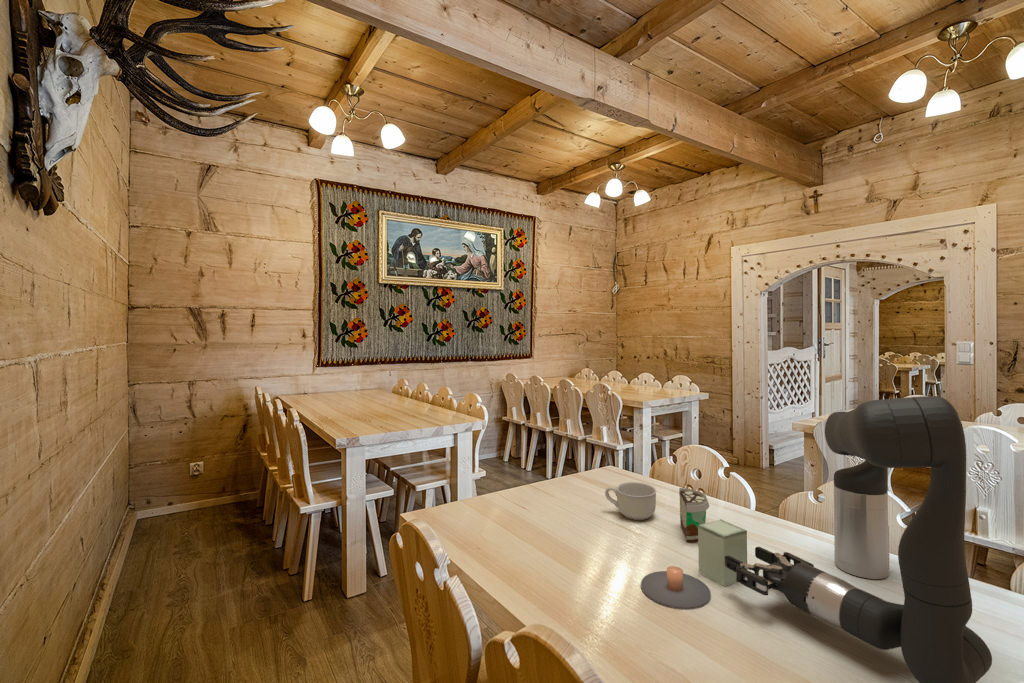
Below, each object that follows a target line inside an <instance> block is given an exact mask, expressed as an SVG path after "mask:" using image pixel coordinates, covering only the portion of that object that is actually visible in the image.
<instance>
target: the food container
mask: <svg viewBox="0 0 1024 683" xmlns="http://www.w3.org/2000/svg"><path fill="white" fill-rule="evenodd" d="M678 491H679V492H678V494H679V519H680V522H679V523H680V530H681V532H682V535H683V537H684V540H685V543H689V544H690V543H691V544H692V543H698V525H700V524H704V523H706V521H707V510H708V509H709V508H710V504H709V499H708V498H707V495H706V494H704V493H703V492H701V491H698V490H695V489H691V488H682V487H679V490H678Z"/></svg>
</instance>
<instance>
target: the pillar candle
mask: <svg viewBox="0 0 1024 683" xmlns="http://www.w3.org/2000/svg"><path fill="white" fill-rule="evenodd" d="M666 571H667V588H668V589H669V590H671V591H675V592H680V591H682V590H683V573H684V572H683V571H684V570H683V569H682V568H680V567H678V566H674V565H671V566H668V567H667V568H666Z"/></svg>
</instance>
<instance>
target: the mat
mask: <svg viewBox="0 0 1024 683" xmlns="http://www.w3.org/2000/svg"><path fill="white" fill-rule="evenodd" d="M640 588H641V591H642V592H643V594H644V595H645V596H646V597H647V598H648V599H650V600H651V601H653V602H655V603H657V604H659V605H660V606H661V605H662V606H665V607H667V608H673V609H679V610H694V609H699V608H702V607H704V606H706V605H707V604H708V603H709V602H710V600H711V596H712V595H711V590H710V588H709V586H708V585H707V584H706V583H704V582H703V581H702V580H700V579H698V578H696V577H695V576H693V575H691V574H690V575H689V574H688V573H684V572H683V590H682V591H680V592H675V591H671V590H669V589H668V588H667V570H662V571H660V570H659V571H654V572H650V573H647V575H645V576H643V577H642V579H641V582H640Z"/></svg>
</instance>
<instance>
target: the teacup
mask: <svg viewBox="0 0 1024 683" xmlns="http://www.w3.org/2000/svg"><path fill="white" fill-rule="evenodd" d="M610 491H613V493H615V497H616V499H613V497H612V496H611V495H610ZM604 492H605V493H604V496H605V498H606V500H608V501H609V502H610V503H611V504H614V506H615V507H616V508H618V510H619V512H620V513H621V514H622V515H623V516H624V517H626V519H630V520H632V519H633V521H644V520H647V519H648V518H650V517H651V516H653V514H654V513H655V511H656V508H657V507H656V506H657V502H656V501H657V489H656V488H655V487H654V486H653V485H651V484H648V483H644V482H640V481H639V482H638V481H628V482H627V481H625V482H622V483H619V484H618V485H617V486H616V487H615V486H613V485H610V486H609V485H608V487H606V489H605V491H604Z"/></svg>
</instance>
